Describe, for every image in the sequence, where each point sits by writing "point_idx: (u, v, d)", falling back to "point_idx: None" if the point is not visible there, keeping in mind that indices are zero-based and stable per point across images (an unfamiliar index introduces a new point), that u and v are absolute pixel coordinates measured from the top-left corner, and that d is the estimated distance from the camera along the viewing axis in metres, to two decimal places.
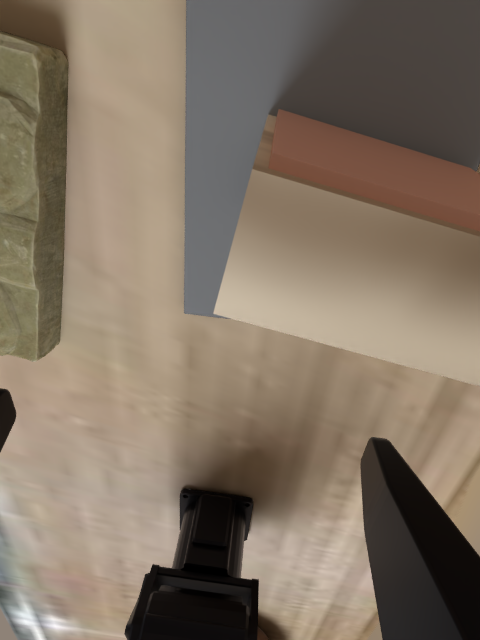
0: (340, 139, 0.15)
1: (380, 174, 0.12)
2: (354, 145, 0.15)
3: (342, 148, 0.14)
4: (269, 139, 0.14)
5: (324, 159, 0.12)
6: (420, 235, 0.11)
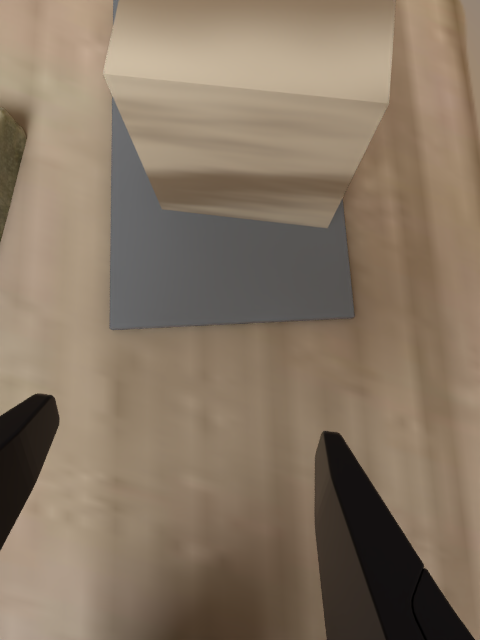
0: None
1: None
2: None
3: None
4: None
5: None
6: None
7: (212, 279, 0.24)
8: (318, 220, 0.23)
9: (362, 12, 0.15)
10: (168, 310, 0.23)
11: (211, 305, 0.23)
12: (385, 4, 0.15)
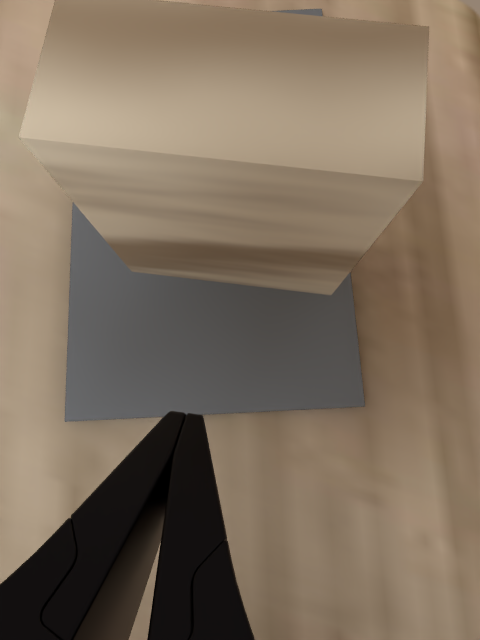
0: None
1: None
2: None
3: None
4: None
5: None
6: (227, 19, 0.11)
7: (191, 358, 0.20)
8: (320, 288, 0.19)
9: (383, 51, 0.11)
10: (137, 398, 0.19)
11: (190, 392, 0.19)
12: (414, 40, 0.11)
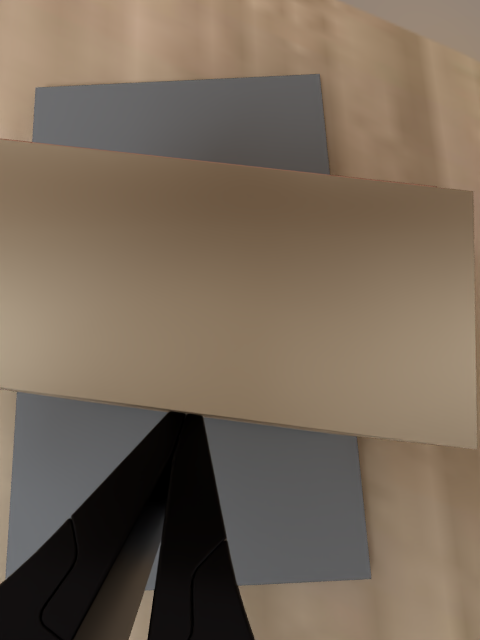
0: None
1: None
2: None
3: None
4: None
5: None
6: (180, 178, 0.07)
7: None
8: None
9: (407, 229, 0.07)
10: None
11: (157, 559, 0.16)
12: (453, 212, 0.07)
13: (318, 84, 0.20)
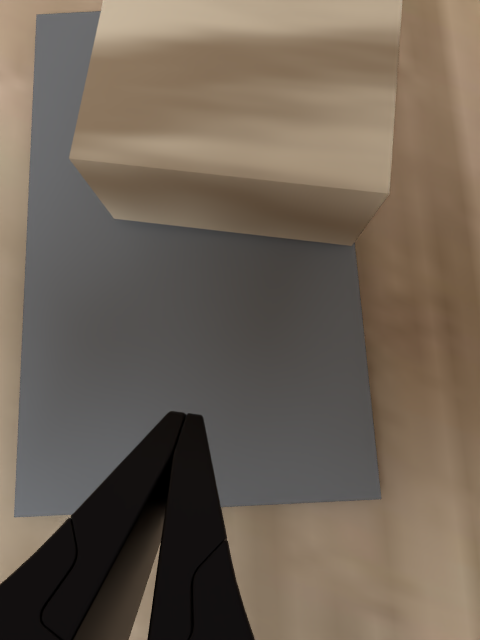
0: None
1: None
2: None
3: None
4: None
5: None
6: None
7: None
8: (368, 164, 0.13)
9: None
10: None
11: None
12: None
13: None
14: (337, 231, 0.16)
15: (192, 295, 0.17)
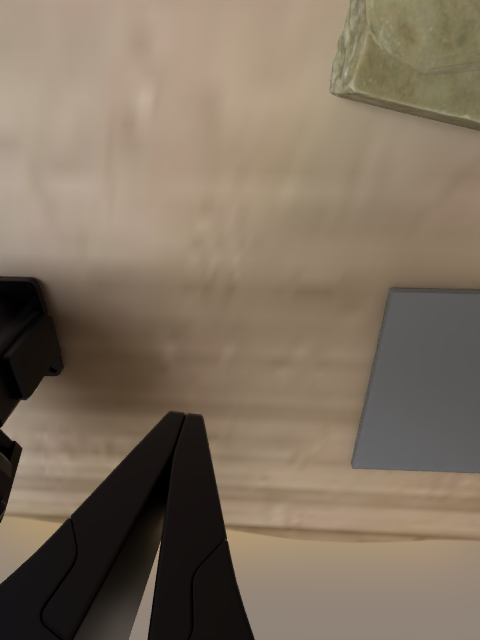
0: None
1: None
2: None
3: None
4: None
5: None
6: None
7: (417, 382, 0.24)
8: None
9: None
10: (396, 346, 0.23)
11: (391, 380, 0.24)
12: None
13: None
14: None
15: None
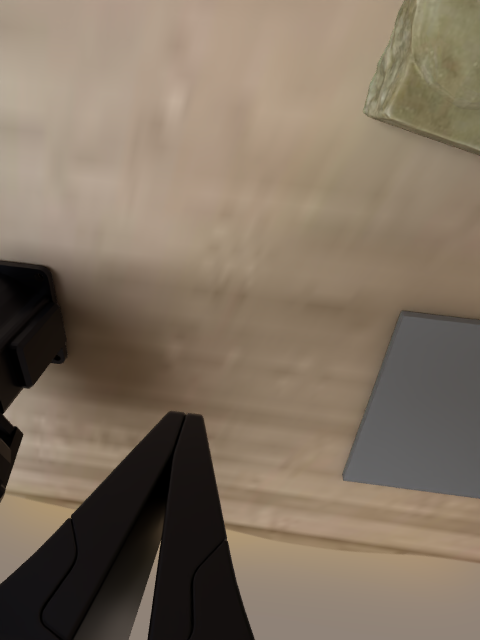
0: None
1: None
2: None
3: None
4: None
5: None
6: None
7: (417, 404, 0.24)
8: None
9: None
10: (401, 368, 0.23)
11: (391, 399, 0.24)
12: None
13: None
14: None
15: None
